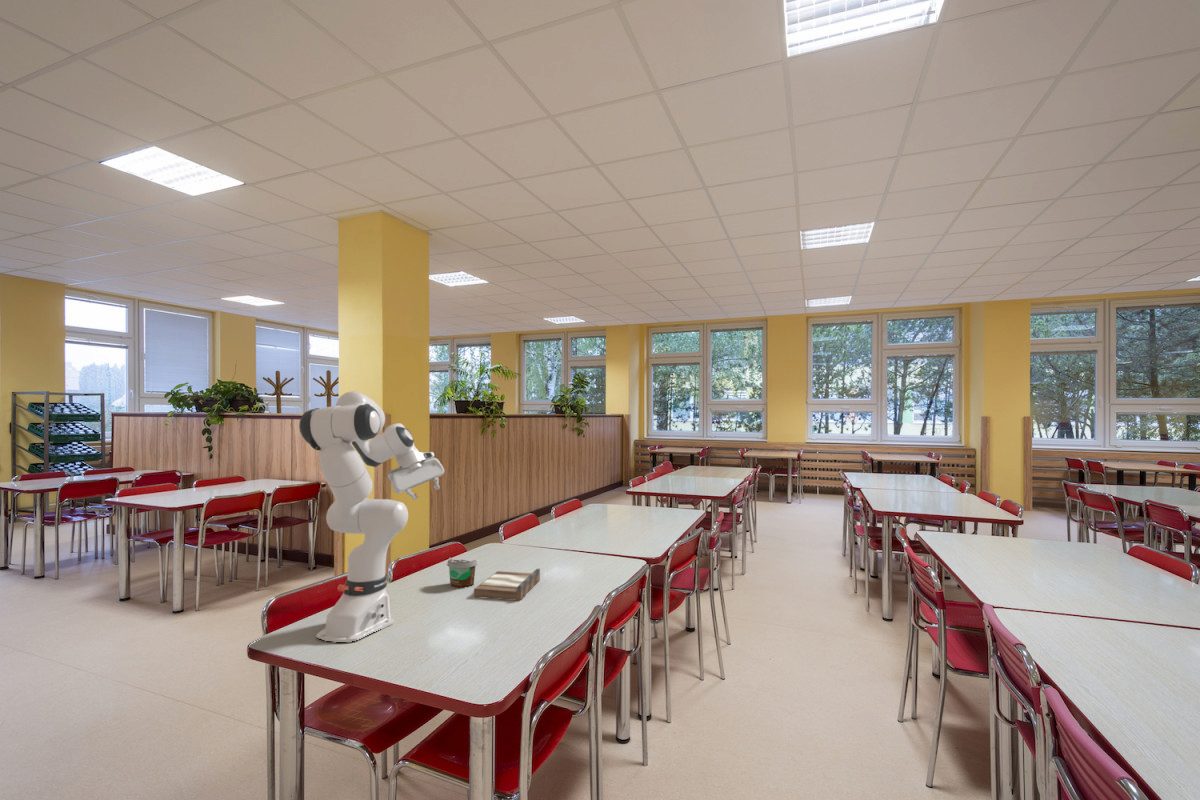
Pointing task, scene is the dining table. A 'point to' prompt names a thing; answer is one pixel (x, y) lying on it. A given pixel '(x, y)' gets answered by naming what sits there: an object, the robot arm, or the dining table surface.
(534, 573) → the block
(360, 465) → the robot arm
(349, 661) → the dining table surface
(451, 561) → the food container
